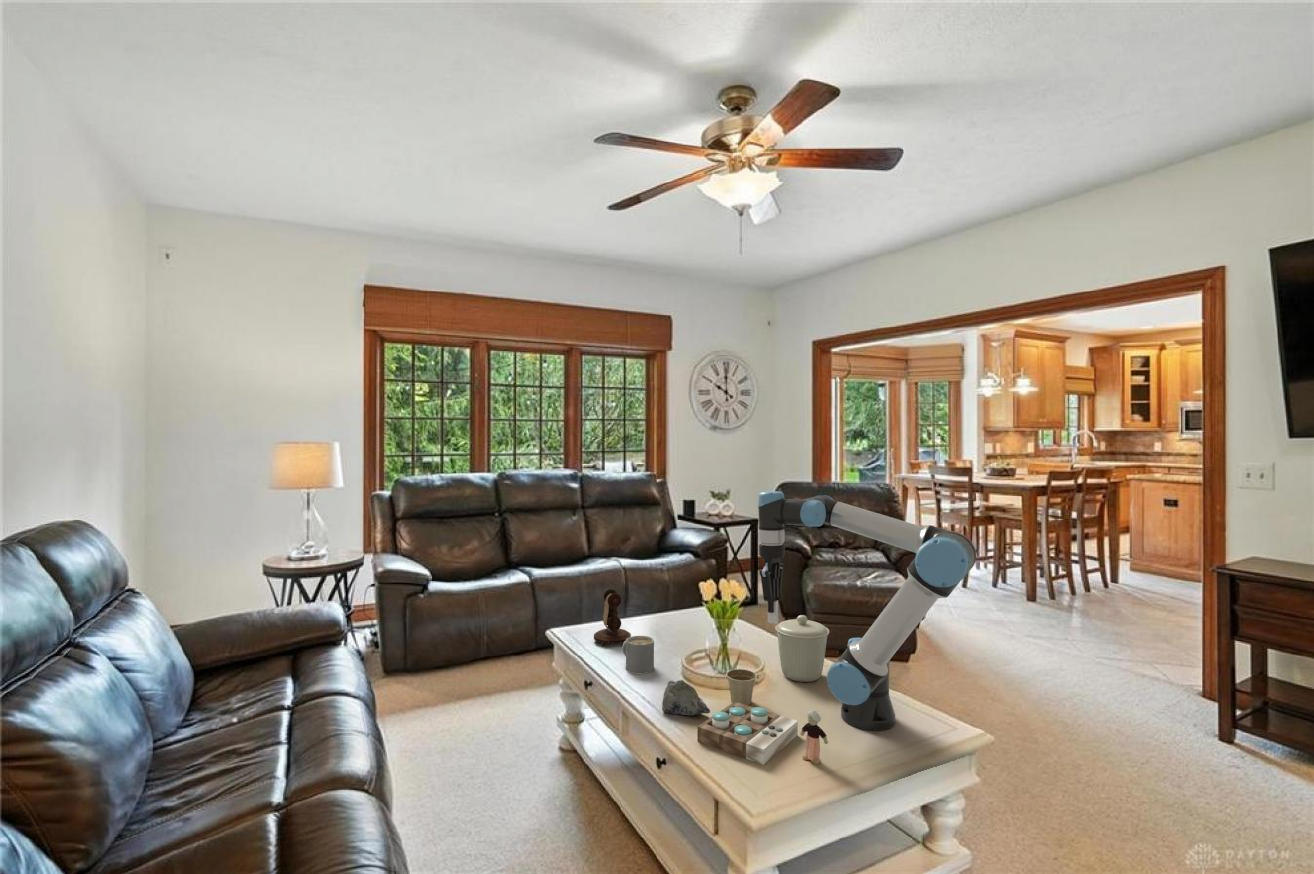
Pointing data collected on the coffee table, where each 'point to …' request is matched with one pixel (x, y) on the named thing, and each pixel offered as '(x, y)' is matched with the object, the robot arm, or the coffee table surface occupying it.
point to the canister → (802, 648)
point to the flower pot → (741, 685)
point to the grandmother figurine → (813, 737)
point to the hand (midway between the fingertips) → (772, 622)
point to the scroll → (611, 621)
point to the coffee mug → (639, 654)
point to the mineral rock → (682, 699)
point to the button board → (756, 746)
